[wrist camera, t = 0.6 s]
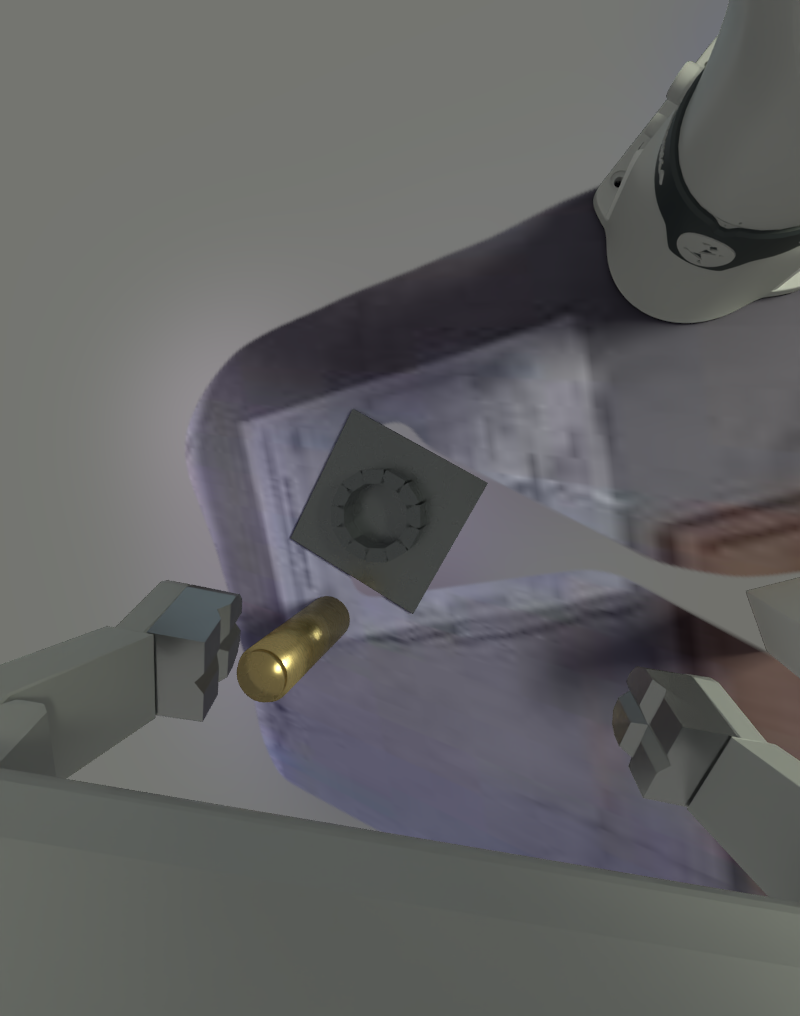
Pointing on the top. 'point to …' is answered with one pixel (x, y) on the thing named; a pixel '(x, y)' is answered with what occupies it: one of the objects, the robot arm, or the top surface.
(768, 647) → the milk
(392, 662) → the top surface
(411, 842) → the robot arm
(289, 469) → the top surface
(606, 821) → the top surface
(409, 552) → the square socket base
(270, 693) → the cylinder
